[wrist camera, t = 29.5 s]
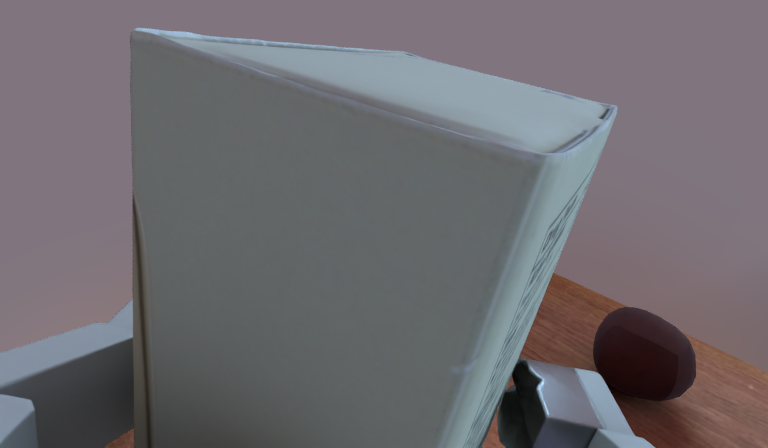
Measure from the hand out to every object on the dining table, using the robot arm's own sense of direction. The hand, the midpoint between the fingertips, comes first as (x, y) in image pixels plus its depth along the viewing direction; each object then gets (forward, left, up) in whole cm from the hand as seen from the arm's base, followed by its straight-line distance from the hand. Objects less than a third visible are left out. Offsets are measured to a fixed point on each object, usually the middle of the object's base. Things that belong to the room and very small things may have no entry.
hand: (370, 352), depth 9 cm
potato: (+29, -16, -16) cm, 37 cm away
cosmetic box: (-1, 0, -7) cm, 7 cm away
